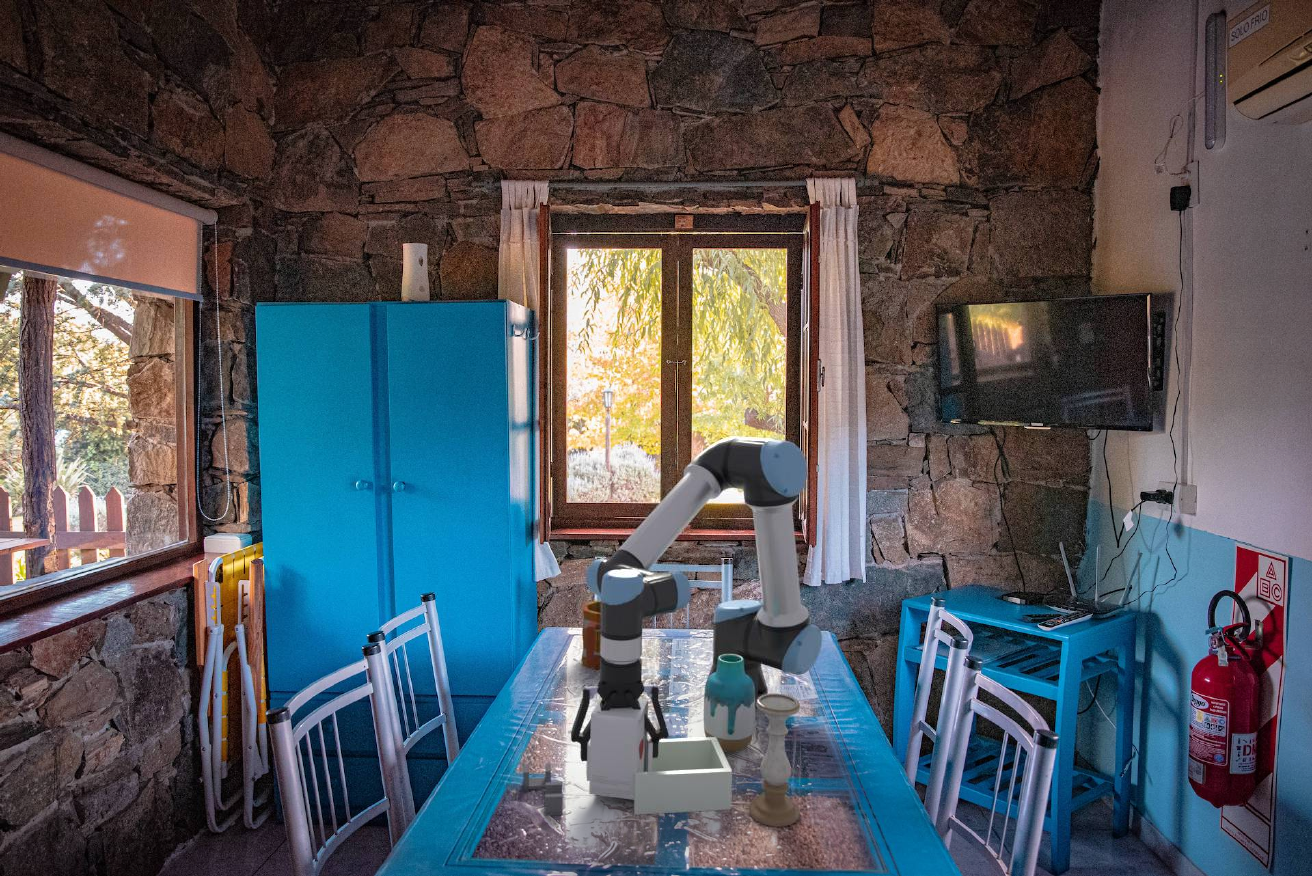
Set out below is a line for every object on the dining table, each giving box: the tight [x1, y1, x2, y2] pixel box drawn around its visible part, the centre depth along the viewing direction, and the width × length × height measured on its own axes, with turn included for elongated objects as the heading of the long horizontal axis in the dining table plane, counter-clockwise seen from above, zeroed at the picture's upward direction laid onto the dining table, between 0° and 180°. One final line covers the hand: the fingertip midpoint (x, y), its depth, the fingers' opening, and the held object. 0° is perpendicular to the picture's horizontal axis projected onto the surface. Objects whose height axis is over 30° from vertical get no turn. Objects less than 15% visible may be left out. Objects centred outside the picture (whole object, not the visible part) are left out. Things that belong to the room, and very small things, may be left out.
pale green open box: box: [633, 736, 733, 816], centre depth 143 cm, size 17×13×7 cm
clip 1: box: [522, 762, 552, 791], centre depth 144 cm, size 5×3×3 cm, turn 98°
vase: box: [703, 654, 756, 754], centre depth 160 cm, size 11×11×19 cm
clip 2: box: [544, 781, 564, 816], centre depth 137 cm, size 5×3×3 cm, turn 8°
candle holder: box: [748, 693, 801, 828], centre depth 136 cm, size 9×9×20 cm
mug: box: [581, 600, 602, 672], centre depth 205 cm, size 20×14×15 cm
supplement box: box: [588, 698, 649, 801], centre depth 141 cm, size 9×9×15 cm
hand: (619, 775), depth 141 cm, fingers closed on supplement box, 10 cm apart
